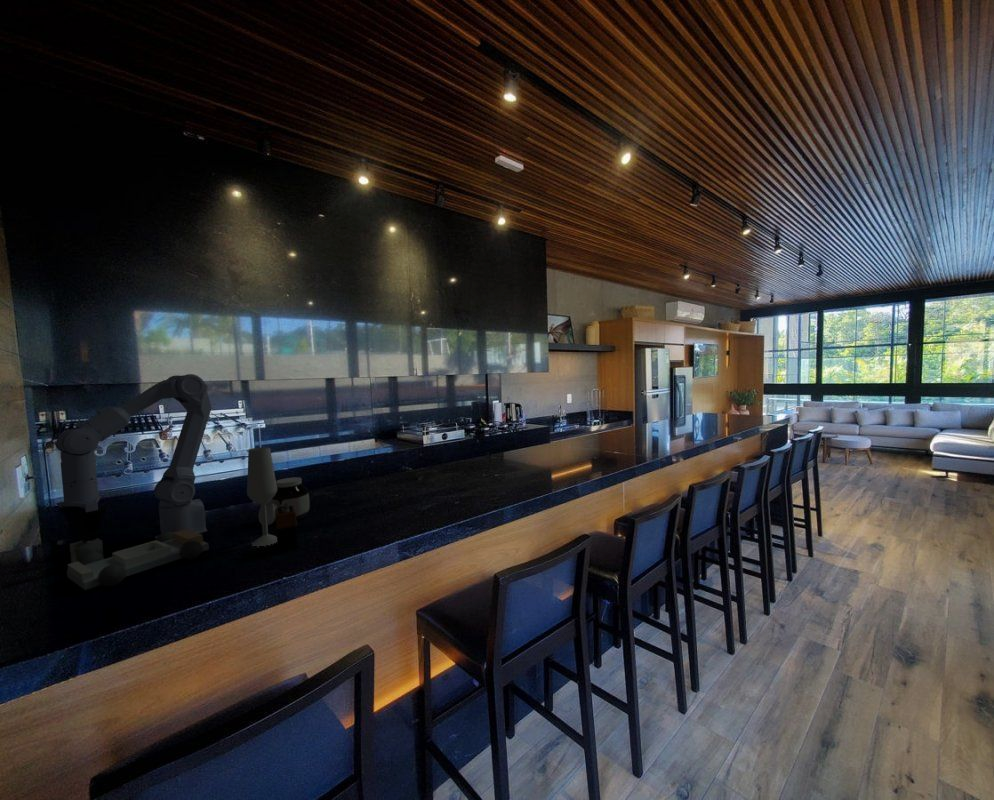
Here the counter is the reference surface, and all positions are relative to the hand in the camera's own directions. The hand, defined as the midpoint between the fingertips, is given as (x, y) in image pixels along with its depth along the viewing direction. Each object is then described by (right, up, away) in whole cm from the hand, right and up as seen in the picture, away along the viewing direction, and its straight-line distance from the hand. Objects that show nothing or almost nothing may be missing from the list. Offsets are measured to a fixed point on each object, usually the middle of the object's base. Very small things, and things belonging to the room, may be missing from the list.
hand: (85, 537), depth 96 cm
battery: (+45, -4, +5) cm, 45 cm away
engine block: (0, -6, 0) cm, 6 cm away
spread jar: (+34, -4, +25) cm, 42 cm away
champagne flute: (+38, -4, +9) cm, 39 cm away
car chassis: (+15, -5, -2) cm, 16 cm away
